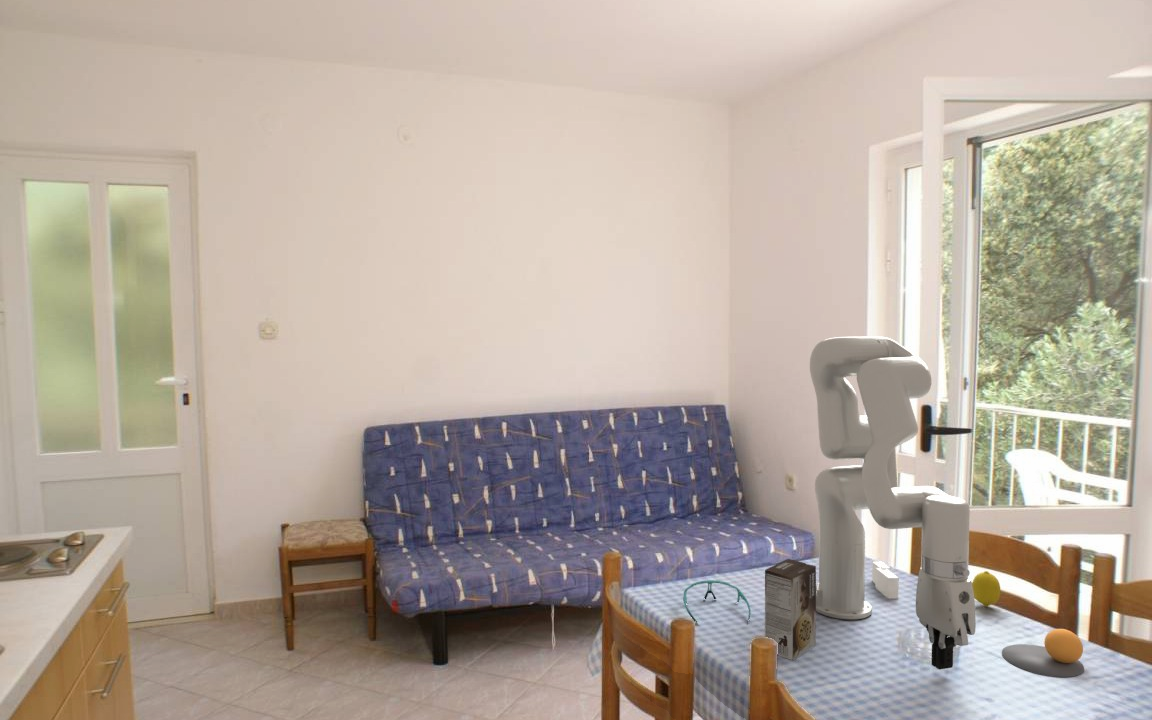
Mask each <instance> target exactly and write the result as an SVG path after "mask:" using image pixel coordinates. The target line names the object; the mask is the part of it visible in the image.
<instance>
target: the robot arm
mask: <svg viewBox="0 0 1152 720" xmlns="http://www.w3.org/2000/svg"><path fill="white" fill-rule="evenodd" d="M809 372H810V378H811V382H812V384H813V387H814V393H815V395H816V403H817V404H816V405H817V406H816V407H817V408H816V409H817V421H818V423H817V424H818V437H819V447H820V450H821V453H822V455H823V456H825V458H827V459H829V460H833V461H834V460H835V461H849V460H850V461H851V460H853V461H855V460H863V463H862V465H861V464H860V465H842V466H832V467H828V468H825V469H824V470H822V471H820V472H819V473H818V474H817V476H816V478H815V480H814V492H815V497H816V503H817V510H818V520H819V521H818V525H819V526H818V529H819V530H818V537H819V539H818V541H819V542H818V582H817V583H816V613H819V614H820V615H823V616H825V617H830V618H833V619H839V620H862V619H865V618H868V617H869V616H871V615H872V612H873V607H872V605H871V603H869V602H868V601H866V599H865V595H866V594H865V589H866V588H865V587H866V585H865V584H866V582H865V580H866V579H865V578H866V531H865V527H864V525H863V523H862V521H861V520H860V519H859V518H858V516H857V514H856V511H861V510H869V512H870V514H871V517H872V519H873V520H874V521H875V523H876V524H877V525H878V526H880V527H882V528H883V529H888V530H900V529H910V528H911V529H912V528H921V547H920V548H921V550H920V552H921V553H920V558H921V559H920V561H921V562H920V569H919V571H918V575H917V576H918V577H917V583H916V589H915V590H916V591H915V593H916V594H915V614H916V616H917V618H918V619H919V620H918V621H919V623H920V624H921V625H922V626H923V628H926V631H927V633H928V640H929V643H931V666H932V667H934V668H935V669H937V670H945V669H951V668H953V667H954V666H953V664H954V648H956V647H957V646H960V647H965V646H968V645H969V639H968V638H969V637H968V635H969V636H973V635H975V634H976V625H977V623H976V620H977V619H976V603H975V600H976V599H975V597H974V592H973V587H972V583H973V582H972V580H971V579H970V578H969V575H970V573H971V572H970V570H969V554H970V553H969V552H970V549H969V547H970V514H971V513H970V511H971V510H970V506H969V503H968V502H967V501H966V500H964V499H963V498H961V497H958V496H953V495H949V494H947V493H946V492H945V491H943V490H942V489H940V488H938V487H936V486H930V485H918V486H900V487H898V473H897V456H896V454H897V453H896V448H897V447H898V446H900V445H903V444H905V443H907V442H909V441H910V440H912V439H913V438H915V437H916V436H917V435H918V433H919V425H918V422H917V419H916V416H915V413H914V410H913V407H912V403H911V401H910V400H911V399H920V398H923V397H925V396H927V395H928V394H929V392H930V390H931V389H932V388H931V386H932V381H933V380H932V376H931V372H930V370H929V368H928V366H927V364H926V363H925V362H924V361H923V359H921V358H920V357H919V356H918V355H916V353H914V352H912V351H911V350H910V349H907V348H906V347H904V346H903V345H901V344H900V343H898V342H897V341H895V340H894V339H891V338H889V337H886V336H885V337H884V336H838V337H830V338H826V339H823V340H821V341H820V342H818V343H817V344H816V345H815V346H814V348H813V349H812V352H811V354H810V358H809ZM846 377H856V381H857V386H858V390H859V393H860V397H861V400H862V405H863V408H864V411H865V415H860V413H859V399H858V395H857V393H856V391H855V389H854V388H853V386H852V384H851V383H850V382H849V381H848V380H847V379H846Z"/></svg>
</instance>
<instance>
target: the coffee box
mask: <svg viewBox="0 0 1152 720" xmlns="http://www.w3.org/2000/svg"><path fill="white" fill-rule="evenodd" d="M816 578H817V565H813V564H812V565H811V564H808V563H805V562H802V561H799V560H796V559H795V560H794V559H790V558H788V559H785V560H783V561H781V562H778V563H776V564H775V565H773V566H770V567H768V568H766V569H765V570H764V638H765V637H768V638H772V639H774V640H775V641H776V642H777V643H778V655H777V656H779V657H781V658H785V659H787V660H789V659H790V661H795V660H796V659H798V658H799V657H801V656H802V655H803V654H806V653H807V652H808V651H810V650H811V649H813V648H814V647H815V645H817V611H816V586H817V579H816ZM812 647H813V648H812ZM809 649H810V650H809Z"/></svg>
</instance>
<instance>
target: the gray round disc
mask: <svg viewBox="0 0 1152 720" xmlns="http://www.w3.org/2000/svg"><path fill="white" fill-rule="evenodd" d="M1001 656H1002V657H1003V659H1004V660H1005V661H1007V662H1008V663H1010V664H1011V665H1013V666H1015V667H1017V668H1019V669H1021V670H1024V671H1027V672H1031V673H1034V674H1037V675H1042V676H1047V677H1053V678H1055V677H1056V678H1072V677H1077V676H1080V675H1082V674H1083V673H1084V672H1085V666H1084V664H1083V663H1082V662H1081V661H1080V659H1079V660H1077V661H1076V662H1073V663H1062V662H1059V661H1057V660H1055V659H1053V658H1052V657H1051V656H1050V655H1049V654H1048V652H1047V650H1046V648H1045V646H1041V645H1037V644H1021V643H1020V644H1018V643H1017V644H1011V645H1007V646H1005V647H1004V648H1002V650H1001Z"/></svg>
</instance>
